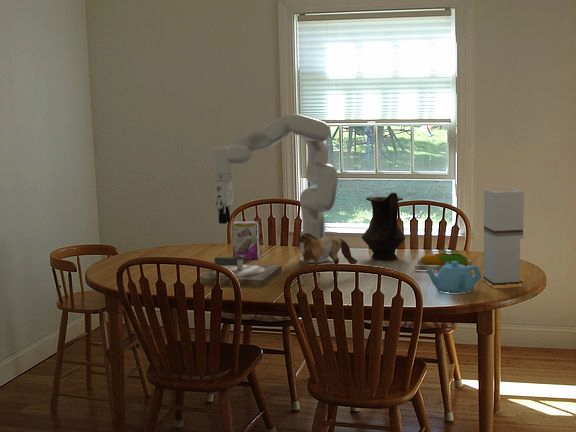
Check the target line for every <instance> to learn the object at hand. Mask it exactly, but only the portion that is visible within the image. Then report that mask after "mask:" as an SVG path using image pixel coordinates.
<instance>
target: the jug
mask: <svg viewBox="0 0 576 432" xmlns="http://www.w3.org/2000/svg"><path fill="white" fill-rule="evenodd" d="M365 200H367V201H370V204H371V209H372V215H371V216H372V221H371V223H370V226H369V227H368V228H367V229H366V231H365V232H363V234H362V236H361V239H362V241H363V242H364V243H365V244H366V245H367V247H368V248H369V249H370V250H371V251H372V255H371V259H372V260H375V261H380V262H381V261H383V262H384V261H385V262H386V261H387V262H388V261H396V260H398V256H397V254H396V250H397V249H398V248H399V247H400V246H401V244H402V243H403V242H404V241H405V240H406V236H405V234H404V232H403V231H402V229H401V227H400V226H399V225H398V216H399V215H398V213H399V210H398V209H399V201H403V200H404V199H403V197H400V196H398V193H397V192H390V193H389V194H388V195H387V196H367V197H365Z"/></svg>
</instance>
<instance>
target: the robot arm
mask: <svg viewBox="0 0 576 432" xmlns="http://www.w3.org/2000/svg"><path fill="white" fill-rule="evenodd" d="M291 135H294V136H295V135H297V136H300V137H301V138H302V140H303V141H304V142H305V143H306V146H307V147H308V154H307V155H308V156H307V165H306V170H305V171H306V173H305V177H306V181H307V182H308V183H309V184H310V185H311V184H312V185H315V186H316V187H307V188H305V189H304V190H302V192H301V193H300V197H299V204H300V210H301V216H302V218H301V219H302V235H303V234H305V233H309V234H311V235H312V236H314V237H316V238H317V239H321V238H322V237H324V236H326V234H325V233H326V232H325V231H326V230H325V229H326V227H325V226H326V224H325V221H326V220H325V215H324V213H328V212H329V211H331V210H332V209H333V207H334V205H335V202H336V198H337V197H336V194H337V189H338V183H339V182H338V180H339V175H338V171H337V169H336V167H335V166H334V165H332V164H330V163H329V146H328V143H327V140H328V139H329V137H330V136H331V128H330V126H329V124H328V123H326V122H325V121H322V120H319V119H316V118H313V117H309V116H305V115H303V114H299V113H286V114H283V115H281V116H280V117H278V118H277V119H274V120H273V121H271V122H270V123H268V124H267V125H265V126H263V127H262V128H260V129H257V130H255V131H252V132H251V133H248V134H245V135H243V136H242V137H239V138H238V139H235V140H234V141H233V142H231V143H230V144H228V145H227V146H215V147H213V148H212V149H211V150H212V151H211V152H212V154H211V155H212V177H213V183H214V205H215V206H216V209H217V211H218V212H217V213H218V223H219V224H221V225H222V224H225V225H226V224H228V223H230V222H231V205H233V204H234V202H235V201H234V189H233V168H232V167H233V166H232V164H234V165H236V164H237V165H238V164H239V165H244V164H248V163H249V162H250V161H251V159H252V156H253V155H252V153H253V152H254V151H258V150H264V149H268V148H271V147H273V146H274V145H277V144H278V143H279V142H281V141H283V140H284V139H286V138H288V137H290V136H291ZM303 259H304V257H303V255H302V256H300V257H299V261H300V262H302V263H303ZM329 259H330V256H329V254H327V255H325V256H322V257H320V258H319V263H320V264H321V263H325V262H328V261H329ZM307 264H316V263H315V261H314V260H313V259H311V260H309V261H308V263H307Z"/></svg>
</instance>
